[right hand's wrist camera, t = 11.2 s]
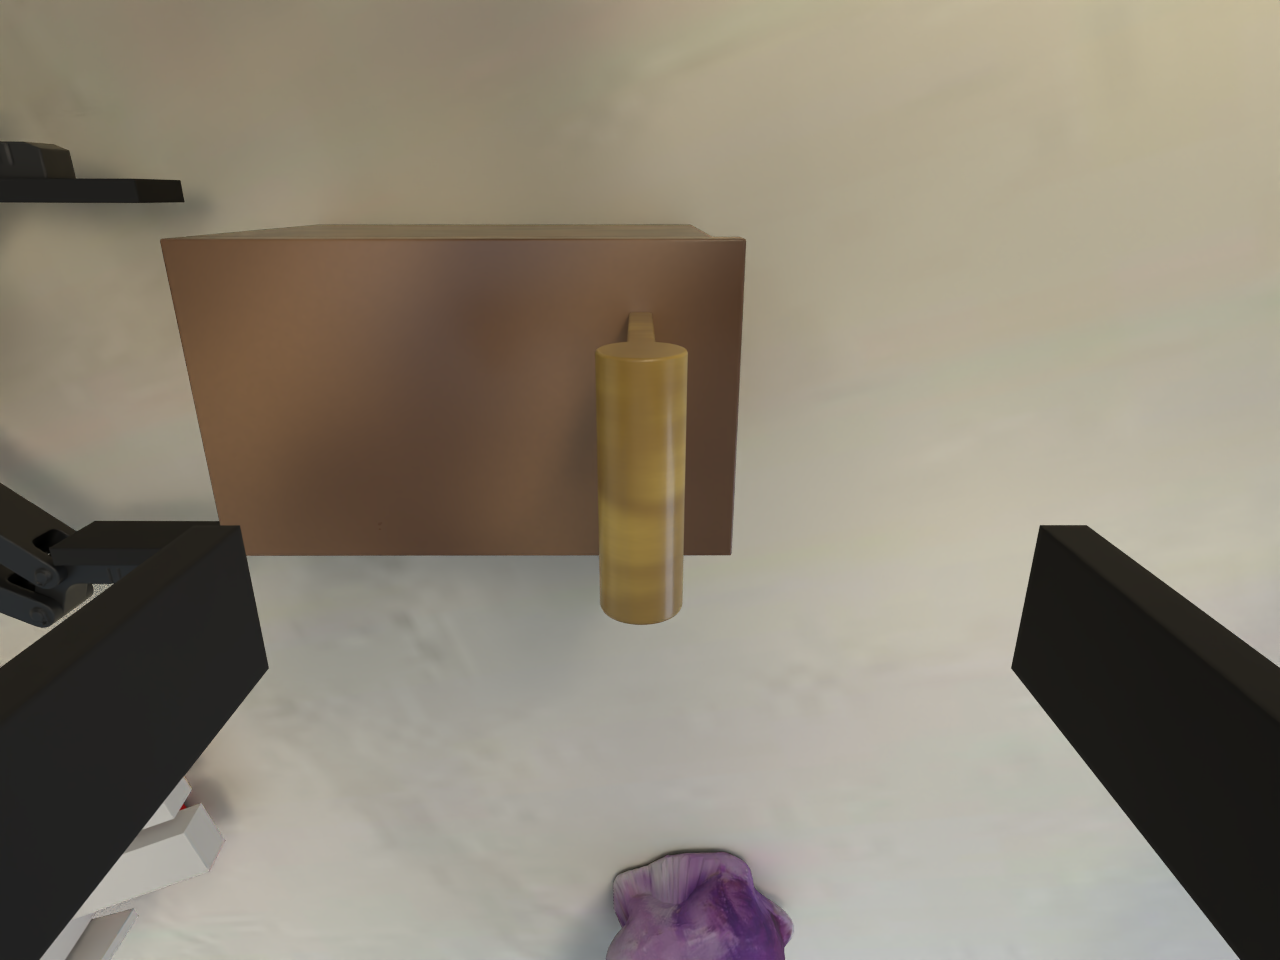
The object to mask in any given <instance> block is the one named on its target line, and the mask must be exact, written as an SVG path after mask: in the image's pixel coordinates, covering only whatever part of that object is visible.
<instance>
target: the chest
mask: <svg viewBox="0 0 1280 960" xmlns="http://www.w3.org/2000/svg"><path fill="white" fill-rule="evenodd" d="M187 237H712V236H710V235H708V234H706V233H705V232H703V231H701V230H699V229H697V228H696V227H694V226H692V225H309V226H298V227H287V228H276V229H265V230H254V231H243V232H232V233H221V234H210V235H198V236H187Z"/></svg>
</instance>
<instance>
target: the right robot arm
mask: <svg viewBox="0 0 1280 960" xmlns="http://www.w3.org/2000/svg"><path fill="white" fill-rule="evenodd" d="M268 669H269V667H268V662H267V657H266V652H265V647H264V642H263V637H262V632H261V627H260V622H259V617H258V612H257V607H256V602H255V597H254V592H253V587H252V582H251V577H250V572H249V567H248V562H247V557H246V552H245V547H244V543H243V538H242V533H241V528H240V525H193V526H192V527H190V528H189V529H188V530H186V531H185V532H184V533H182V534H181V535H180V536H178V537H177V538H176V539H174V540H173V541H172V542H170V543H169V544H167V545H166V546H165V547H163V548H162V549H161V550H159V551H158V552H157V553H155V554H154V555H153V556H151V557H150V558H148V559H147V560H146V561H144V562H143V563H142V564H140V565H139V566H138V567H136V568H135V569H134V570H132V571H131V572H130V573H128V574H127V575H125V576H124V577H123V578H121V579H120V580H119V581H117V582H116V583H115V584H113V585H112V586H111V587H109V588H108V589H106V590H105V591H104V592H102V593H101V594H100V595H98V596H97V597H96V598H94V599H93V600H92V601H90V602H89V603H87V604H86V605H85V606H83V607H82V608H81V609H79V610H78V611H77V612H75V613H74V614H73V615H71V616H70V617H69V618H67V619H66V620H64V621H63V622H62V623H60V624H59V625H58V626H56V627H55V628H54V629H52V630H51V631H50V632H48V633H47V634H45V635H44V636H43V637H41V638H40V639H39V640H37V641H36V642H35V643H33V644H32V645H31V646H29V647H28V648H27V649H25V650H24V651H22V652H21V653H20V654H18V655H17V656H16V657H14V658H13V659H12V660H10V661H9V662H8V663H6V664H5V665H3V666H2V667H1V668H0V960H40V959H41V957H42V956H43V955H44V954H45V952H46V951H47V950H48V948H49V947H50V946H51V945H52V943H53V942H54V941H55V940H56V938H57V937H58V936H59V934H60V933H61V932H62V931H63V929H64V928H65V927H66V926H67V924H68V923H69V922H70V921H71V919H72V918H73V917H74V915H75V914H76V913H77V912H78V910H79V909H80V908H81V907H82V905H83V904H84V903H85V901H86V900H87V899H88V898H89V896H90V895H91V894H92V893H93V891H94V890H95V889H96V887H97V886H98V885H99V884H100V882H101V881H102V880H103V879H104V877H105V876H106V875H107V873H108V872H109V871H110V870H111V868H112V867H113V866H114V865H115V863H116V862H117V861H118V859H119V858H120V857H121V856H122V854H123V853H124V852H125V851H126V849H127V848H128V847H129V845H130V844H131V843H132V842H133V840H134V839H135V838H136V837H137V835H138V834H139V833H140V831H141V830H142V829H143V828H144V826H145V825H146V824H147V823H148V821H149V820H150V819H151V817H152V816H153V815H154V814H155V812H156V811H157V810H158V809H159V807H160V806H161V805H162V803H163V802H164V801H165V800H166V798H167V797H168V796H169V795H170V793H171V792H172V791H173V789H174V788H175V787H176V786H177V784H178V783H179V782H180V781H181V779H182V778H183V777H184V775H185V774H186V773H187V772H188V770H189V769H190V768H191V767H192V765H193V764H194V763H195V761H196V760H197V759H198V758H199V756H200V755H201V754H202V753H203V751H204V750H205V749H206V747H207V746H208V745H209V744H210V742H211V741H212V740H213V739H214V737H215V736H216V735H217V733H218V732H219V731H220V730H221V728H222V727H223V726H224V725H225V723H226V722H227V721H228V719H229V718H230V717H231V716H232V714H233V713H234V712H235V711H236V709H237V708H238V707H239V705H240V704H241V703H242V702H243V700H244V699H245V698H246V697H247V695H248V694H249V693H250V691H251V690H252V689H253V688H254V686H255V685H256V684H257V683H258V681H259V680H260V679H261V677H262V676H263V675H264V674H265V672H266V671H267V670H268ZM1011 669H1012V670H1013V671H1014V672H1015V674H1016V675H1017V676H1018V677H1019V679H1020V680H1021V681H1022V683H1023V684H1024V685H1025V686H1026V688H1027V689H1028V690H1029V691H1030V693H1031V694H1032V695H1033V697H1034V698H1035V699H1036V700H1037V702H1038V703H1039V704H1040V705H1041V707H1042V708H1043V709H1044V711H1045V712H1046V713H1047V714H1048V716H1049V717H1050V718H1051V719H1052V721H1053V722H1054V723H1055V725H1056V726H1057V727H1058V728H1059V730H1060V731H1061V732H1062V733H1063V735H1064V736H1065V737H1066V739H1067V740H1068V741H1069V742H1070V744H1071V745H1072V746H1073V747H1074V749H1075V750H1076V751H1077V753H1078V754H1079V755H1080V756H1081V758H1082V759H1083V760H1084V761H1085V763H1086V764H1087V765H1088V767H1089V768H1090V769H1091V770H1092V772H1093V773H1094V774H1095V775H1096V777H1097V778H1098V779H1099V781H1100V782H1101V783H1102V784H1103V786H1104V787H1105V788H1106V789H1107V791H1108V792H1109V793H1110V795H1111V796H1112V797H1113V798H1114V800H1115V801H1116V802H1117V803H1118V805H1119V806H1120V807H1121V809H1122V810H1123V811H1124V812H1125V814H1126V815H1127V816H1128V817H1129V819H1130V820H1131V821H1132V823H1133V824H1134V825H1135V826H1136V828H1137V829H1138V830H1139V831H1140V833H1141V834H1142V835H1143V837H1144V838H1145V839H1146V840H1147V842H1148V843H1149V844H1150V845H1151V847H1152V848H1153V849H1154V851H1155V852H1156V853H1157V854H1158V856H1159V857H1160V858H1161V859H1162V861H1163V862H1164V863H1165V865H1166V866H1167V867H1168V868H1169V870H1170V871H1171V872H1172V873H1173V875H1174V876H1175V877H1176V879H1177V880H1178V881H1179V882H1180V884H1181V885H1182V886H1183V887H1184V889H1185V890H1186V891H1187V893H1188V894H1189V895H1190V896H1191V898H1192V899H1193V900H1194V901H1195V903H1196V904H1197V905H1198V907H1199V908H1200V909H1201V910H1202V912H1203V913H1204V914H1205V915H1206V917H1207V918H1208V919H1209V921H1210V922H1211V923H1212V924H1213V926H1214V927H1215V928H1216V929H1217V931H1218V932H1219V933H1220V935H1221V936H1222V937H1223V938H1224V940H1225V941H1226V942H1227V943H1228V945H1229V946H1230V947H1231V948H1232V950H1233V951H1234V952H1235V954H1236V955H1237V956H1238V957H1239V959H1240V960H1280V668H1279V667H1278V666H1277V665H1275V664H1274V663H1272V662H1271V661H1270V660H1268V659H1267V658H1266V657H1264V656H1263V655H1262V654H1260V653H1259V652H1258V651H1256V650H1255V649H1253V648H1252V647H1251V646H1249V645H1248V644H1247V643H1245V642H1244V641H1243V640H1241V639H1240V638H1239V637H1237V636H1236V635H1235V634H1233V633H1232V632H1230V631H1229V630H1228V629H1226V628H1225V627H1224V626H1222V625H1221V624H1220V623H1218V622H1217V621H1216V620H1214V619H1213V618H1211V617H1210V616H1209V615H1207V614H1206V613H1205V612H1203V611H1202V610H1201V609H1199V608H1198V607H1197V606H1195V605H1194V604H1193V603H1191V602H1190V601H1188V600H1187V599H1186V598H1184V597H1183V596H1182V595H1180V594H1179V593H1178V592H1176V591H1175V590H1174V589H1172V588H1171V587H1169V586H1168V585H1167V584H1165V583H1164V582H1163V581H1161V580H1160V579H1159V578H1157V577H1156V576H1155V575H1153V574H1152V573H1150V572H1149V571H1148V570H1146V569H1145V568H1144V567H1142V566H1141V565H1140V564H1138V563H1137V562H1136V561H1134V560H1133V559H1132V558H1130V557H1129V556H1127V555H1126V554H1125V553H1123V552H1122V551H1121V550H1119V549H1118V548H1117V547H1115V546H1114V545H1113V544H1111V543H1110V542H1108V541H1107V540H1106V539H1104V538H1103V537H1102V536H1100V535H1099V534H1098V533H1096V532H1095V531H1094V530H1092V529H1091V528H1090V527H1088V526H1087V525H1040V528H1039V533H1038V538H1037V543H1036V547H1035V552H1034V557H1033V562H1032V567H1031V572H1030V577H1029V582H1028V587H1027V592H1026V597H1025V602H1024V607H1023V612H1022V617H1021V622H1020V627H1019V632H1018V637H1017V642H1016V647H1015V652H1014V657H1013V662H1012V667H1011Z"/></svg>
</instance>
